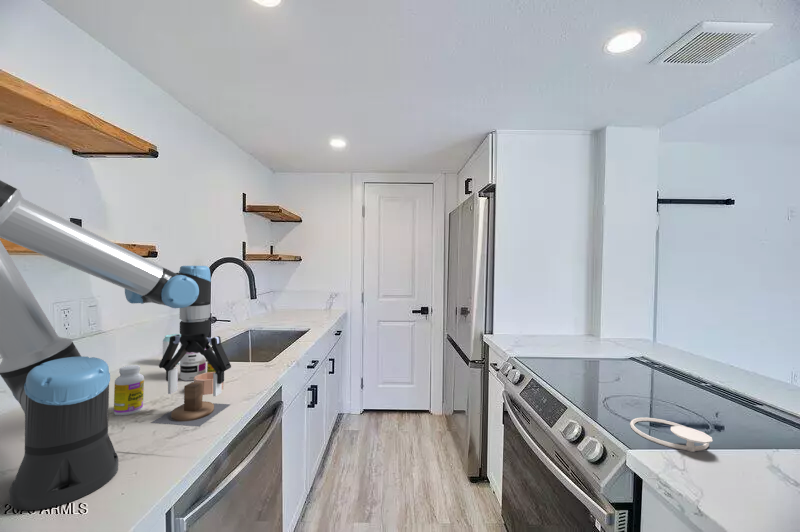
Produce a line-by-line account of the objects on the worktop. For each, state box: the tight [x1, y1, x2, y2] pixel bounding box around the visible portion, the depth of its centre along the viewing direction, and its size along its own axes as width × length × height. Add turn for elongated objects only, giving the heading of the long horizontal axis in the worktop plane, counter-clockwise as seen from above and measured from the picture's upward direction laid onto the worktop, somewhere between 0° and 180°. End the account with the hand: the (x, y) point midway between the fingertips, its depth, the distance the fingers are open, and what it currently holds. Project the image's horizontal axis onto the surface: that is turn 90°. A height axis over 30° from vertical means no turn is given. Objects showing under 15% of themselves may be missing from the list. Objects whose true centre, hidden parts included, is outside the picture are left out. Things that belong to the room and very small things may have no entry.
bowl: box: [193, 372, 224, 396], centre depth 114 cm, size 9×9×5 cm
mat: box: [150, 402, 231, 428], centre depth 97 cm, size 14×14×1 cm
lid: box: [171, 381, 214, 421], centre depth 97 cm, size 10×10×8 cm
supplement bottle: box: [113, 364, 145, 416], centre depth 98 cm, size 7×7×13 cm
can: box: [161, 333, 181, 365], centre depth 143 cm, size 7×7×12 cm
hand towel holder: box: [629, 417, 713, 453], centre depth 91 cm, size 17×4×21 cm
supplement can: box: [179, 344, 207, 382], centre depth 127 cm, size 8×8×15 cm
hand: (194, 393), depth 97 cm, fingers open, 13 cm apart
